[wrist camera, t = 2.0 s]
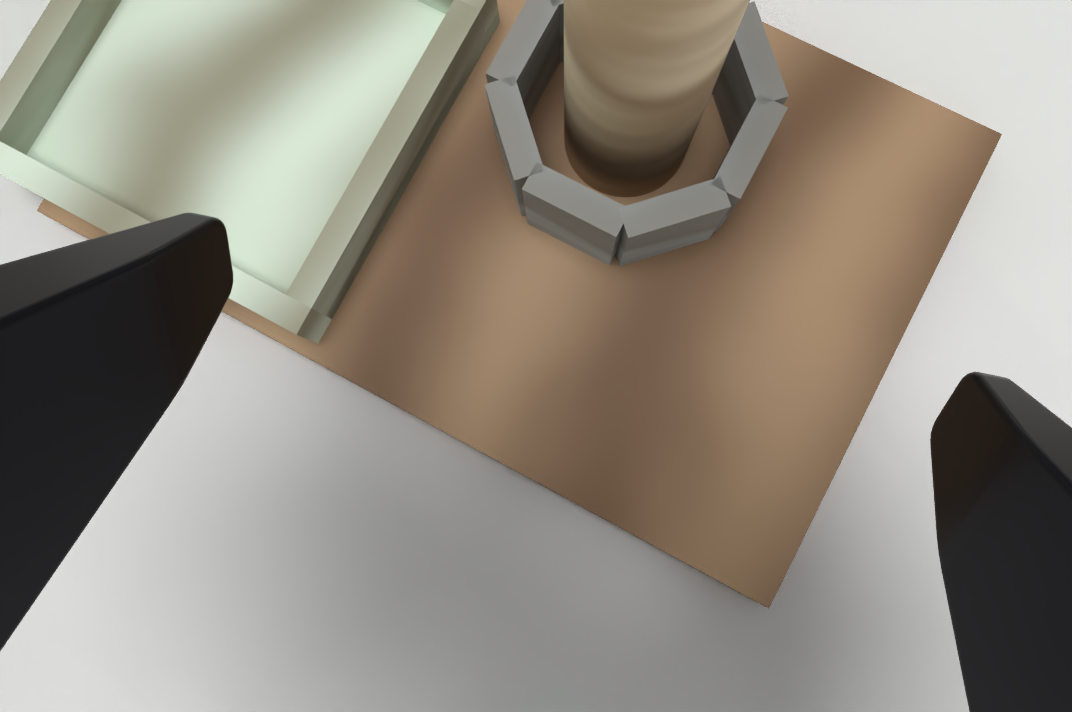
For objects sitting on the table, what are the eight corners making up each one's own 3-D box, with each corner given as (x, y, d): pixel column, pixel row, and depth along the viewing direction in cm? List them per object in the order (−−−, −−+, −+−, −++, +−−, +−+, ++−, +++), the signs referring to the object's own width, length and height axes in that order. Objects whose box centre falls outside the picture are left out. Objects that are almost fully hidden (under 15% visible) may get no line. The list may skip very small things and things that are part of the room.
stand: (982, 147, 23) (1070, 85, 19) (759, 600, 22) (803, 636, 18) (259, -194, 25) (202, -314, 21) (19, 198, 24) (-91, 149, 20)
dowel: (709, 112, 22) (909, -348, 9) (652, 218, 22) (777, -105, 9) (599, 59, 23) (645, -457, 10) (542, 163, 22) (510, -226, 9)
